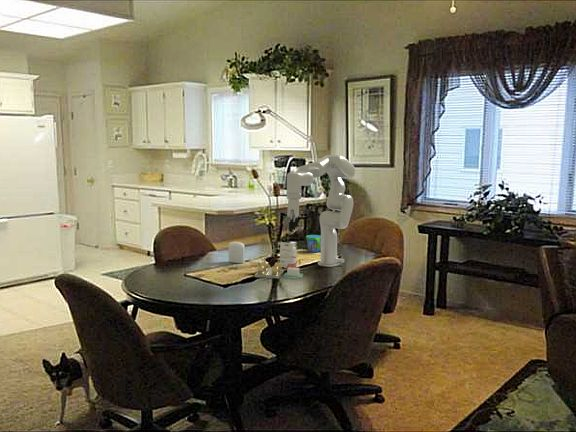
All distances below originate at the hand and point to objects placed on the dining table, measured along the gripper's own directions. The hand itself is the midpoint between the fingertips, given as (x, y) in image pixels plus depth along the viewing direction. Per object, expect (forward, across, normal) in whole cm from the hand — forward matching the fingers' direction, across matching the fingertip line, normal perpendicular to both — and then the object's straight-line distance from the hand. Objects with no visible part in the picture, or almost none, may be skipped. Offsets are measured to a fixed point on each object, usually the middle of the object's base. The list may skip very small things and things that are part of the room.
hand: (293, 228), depth 298 cm
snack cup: (+26, -67, +3) cm, 72 cm away
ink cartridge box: (+26, -19, -6) cm, 33 cm away
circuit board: (+27, 0, 0) cm, 27 cm away
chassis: (+26, 0, -13) cm, 29 cm away
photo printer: (+26, -25, -38) cm, 52 cm away
